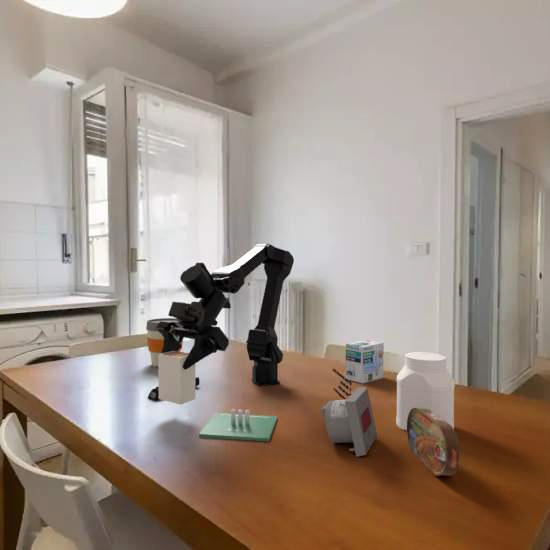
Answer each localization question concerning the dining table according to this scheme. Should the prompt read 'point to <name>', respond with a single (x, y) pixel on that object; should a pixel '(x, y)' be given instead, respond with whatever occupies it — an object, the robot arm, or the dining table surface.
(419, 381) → the jar
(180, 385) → the plug block
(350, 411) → the voltmeter
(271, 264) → the robot arm
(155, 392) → the electric trimmer
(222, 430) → the header board
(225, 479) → the dining table surface
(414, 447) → the tin
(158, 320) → the reusable coffee cup
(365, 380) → the light bulb box
